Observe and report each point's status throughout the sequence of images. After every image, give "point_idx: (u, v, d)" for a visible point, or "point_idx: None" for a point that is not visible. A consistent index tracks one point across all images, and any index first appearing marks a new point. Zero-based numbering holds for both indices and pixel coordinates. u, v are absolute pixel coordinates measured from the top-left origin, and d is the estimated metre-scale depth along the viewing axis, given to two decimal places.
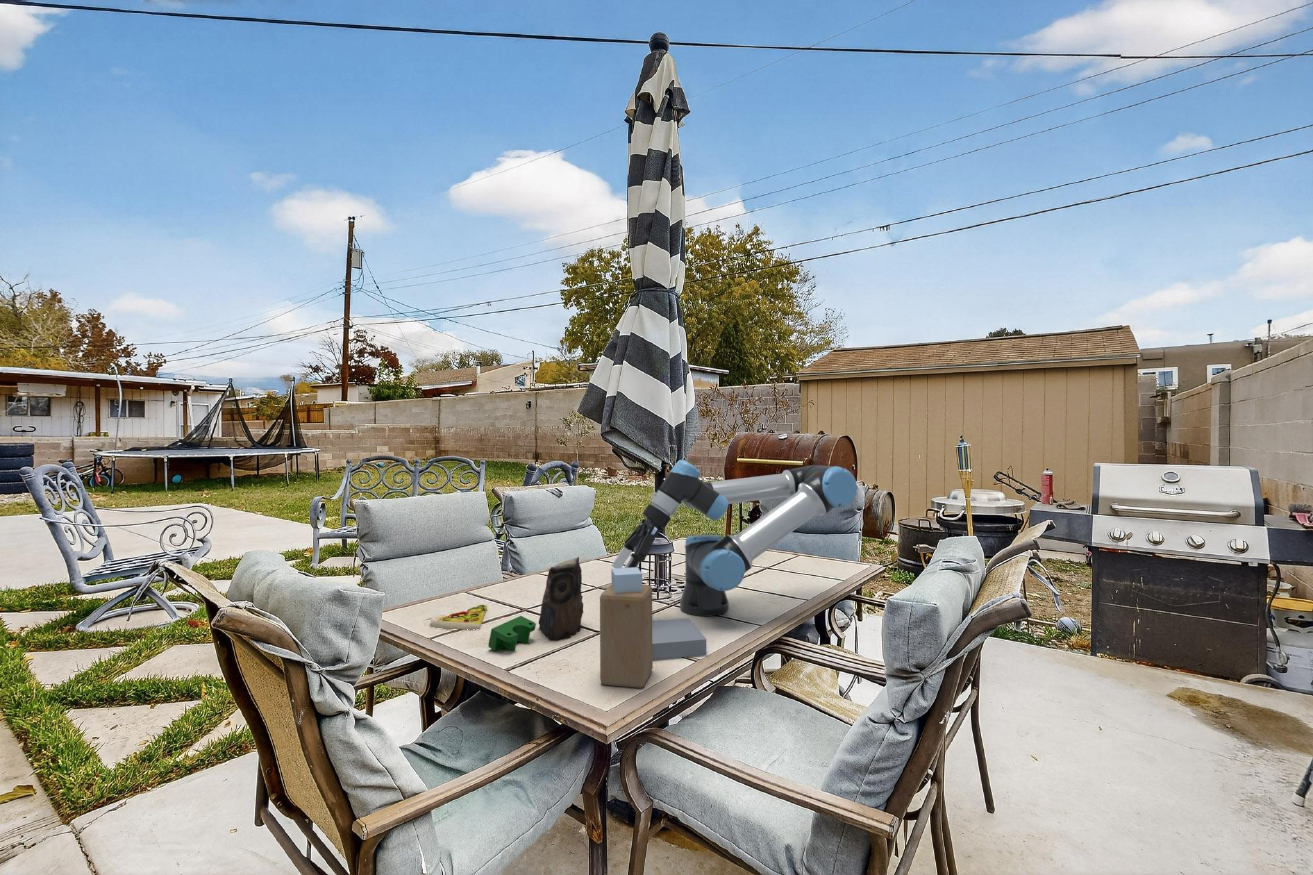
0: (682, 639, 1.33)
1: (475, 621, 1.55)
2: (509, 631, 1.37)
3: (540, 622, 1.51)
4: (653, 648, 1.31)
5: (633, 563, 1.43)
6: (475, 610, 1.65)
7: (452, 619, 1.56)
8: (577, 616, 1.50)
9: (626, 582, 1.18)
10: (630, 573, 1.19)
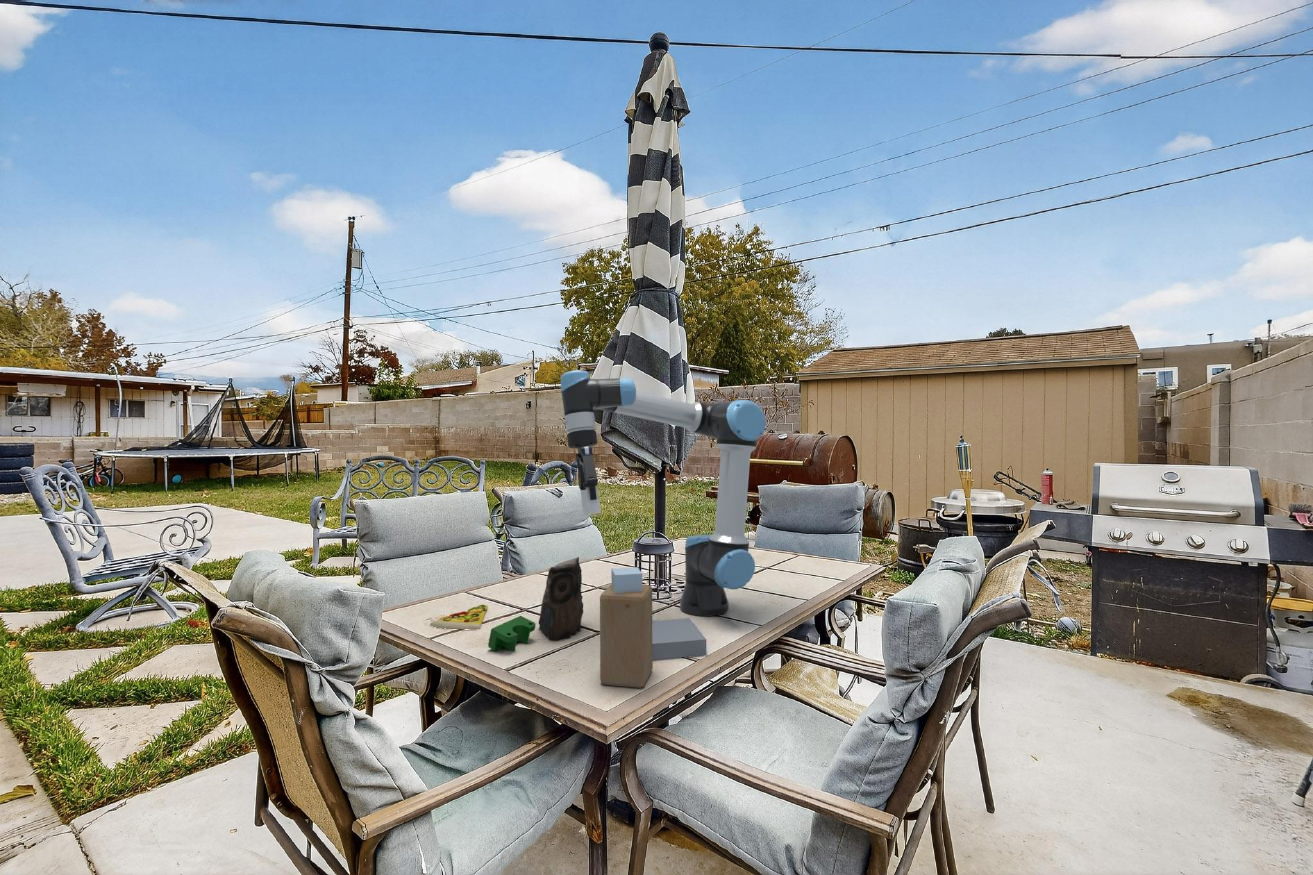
0: (682, 639, 1.33)
1: (475, 621, 1.55)
2: (509, 631, 1.37)
3: (540, 622, 1.51)
4: (653, 648, 1.31)
5: (591, 491, 1.28)
6: (475, 610, 1.65)
7: (452, 619, 1.56)
8: (577, 616, 1.50)
9: (626, 582, 1.18)
10: (630, 573, 1.19)
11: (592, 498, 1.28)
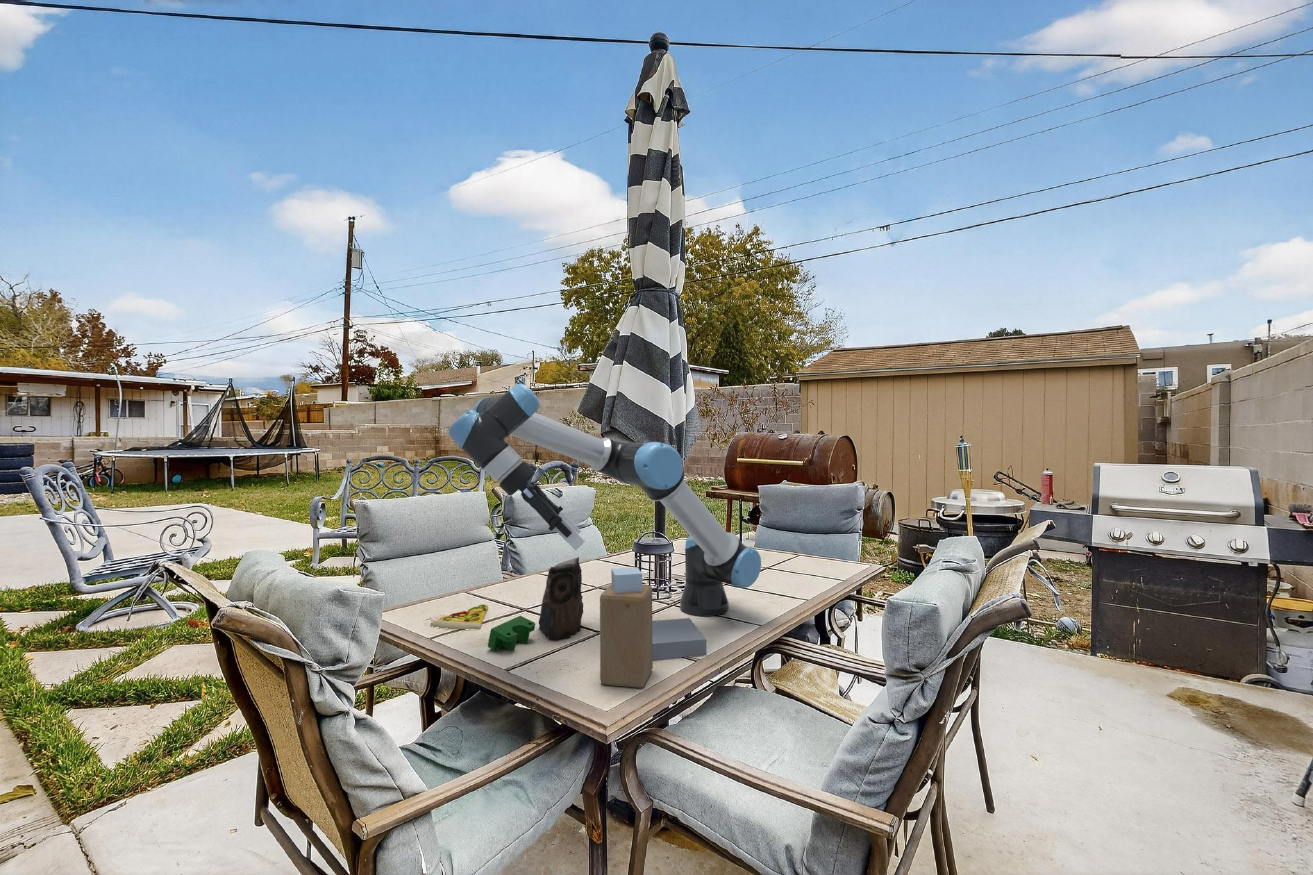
0: (682, 639, 1.33)
1: (476, 621, 1.55)
2: (509, 631, 1.37)
3: (540, 622, 1.51)
4: (653, 648, 1.31)
5: (561, 529, 1.11)
6: (476, 610, 1.65)
7: (453, 619, 1.56)
8: (577, 616, 1.50)
9: (626, 582, 1.18)
10: (630, 573, 1.19)
11: (567, 535, 1.11)
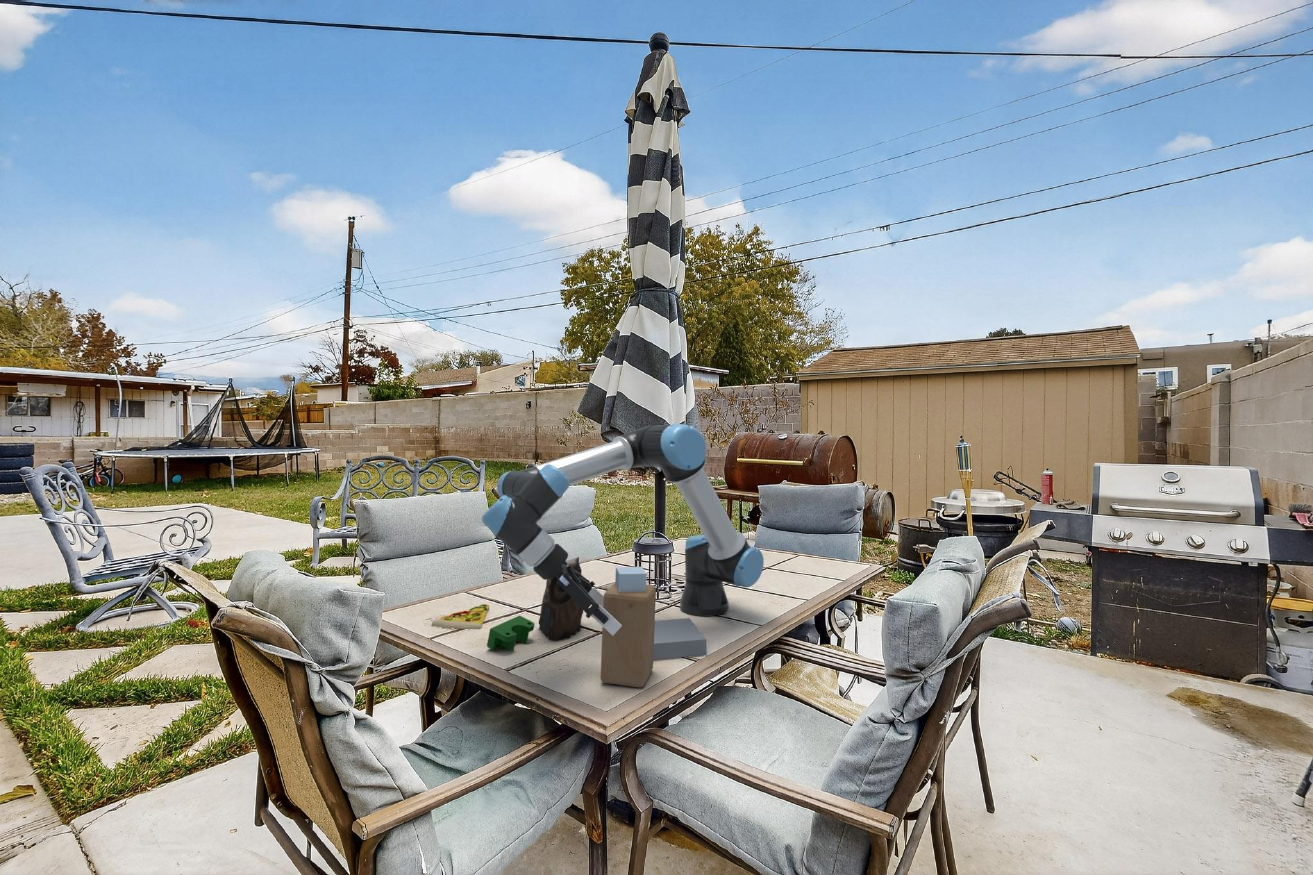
0: (682, 639, 1.33)
1: (476, 621, 1.55)
2: (508, 630, 1.37)
3: (540, 622, 1.51)
4: None
5: (598, 616, 1.11)
6: (477, 609, 1.66)
7: (454, 618, 1.56)
8: (577, 616, 1.50)
9: (630, 582, 1.18)
10: (635, 573, 1.19)
11: (604, 622, 1.11)
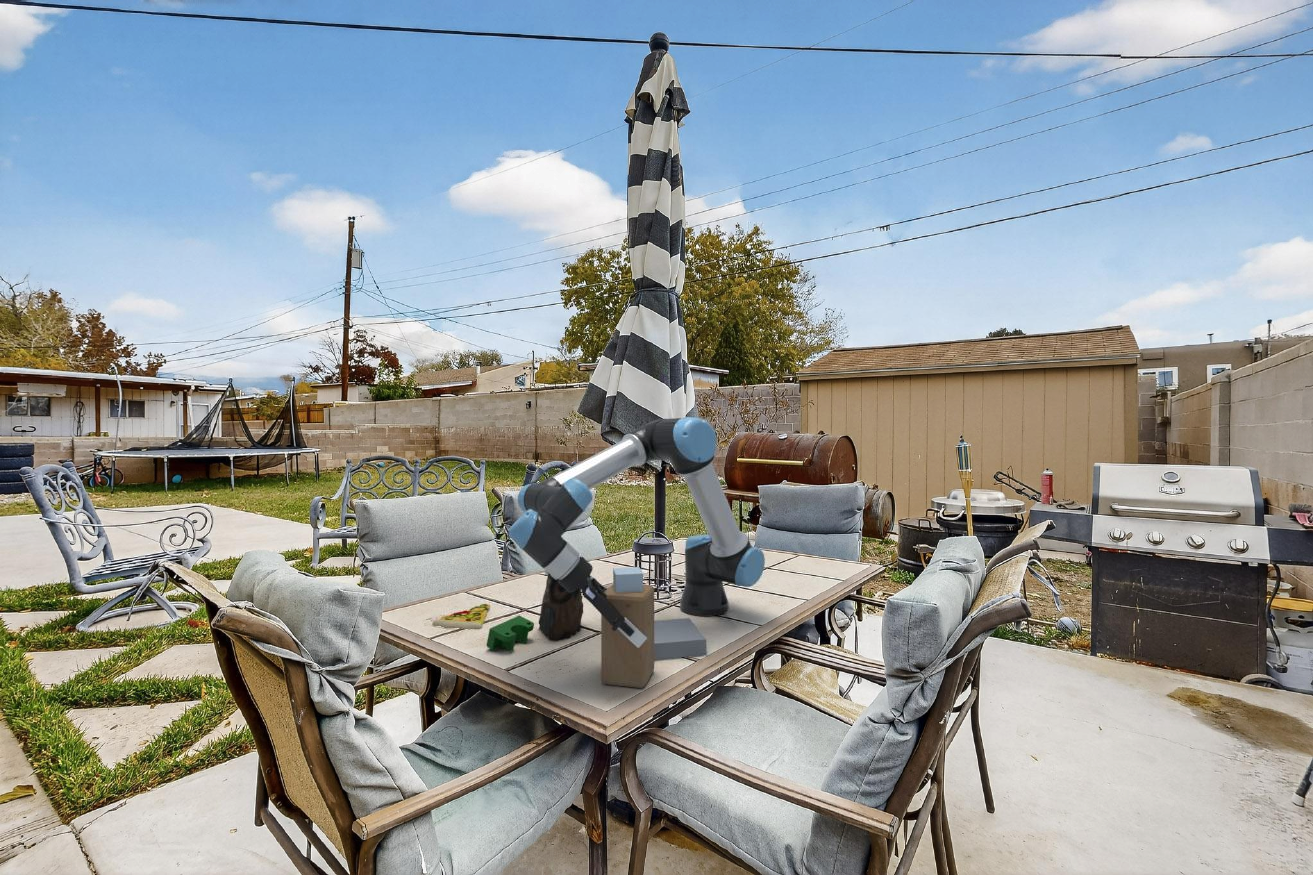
0: (682, 639, 1.33)
1: (477, 620, 1.56)
2: (508, 630, 1.37)
3: (540, 622, 1.51)
4: None
5: (624, 629, 1.13)
6: (478, 609, 1.66)
7: (454, 618, 1.56)
8: (577, 616, 1.50)
9: (627, 582, 1.18)
10: (631, 573, 1.19)
11: (630, 634, 1.13)
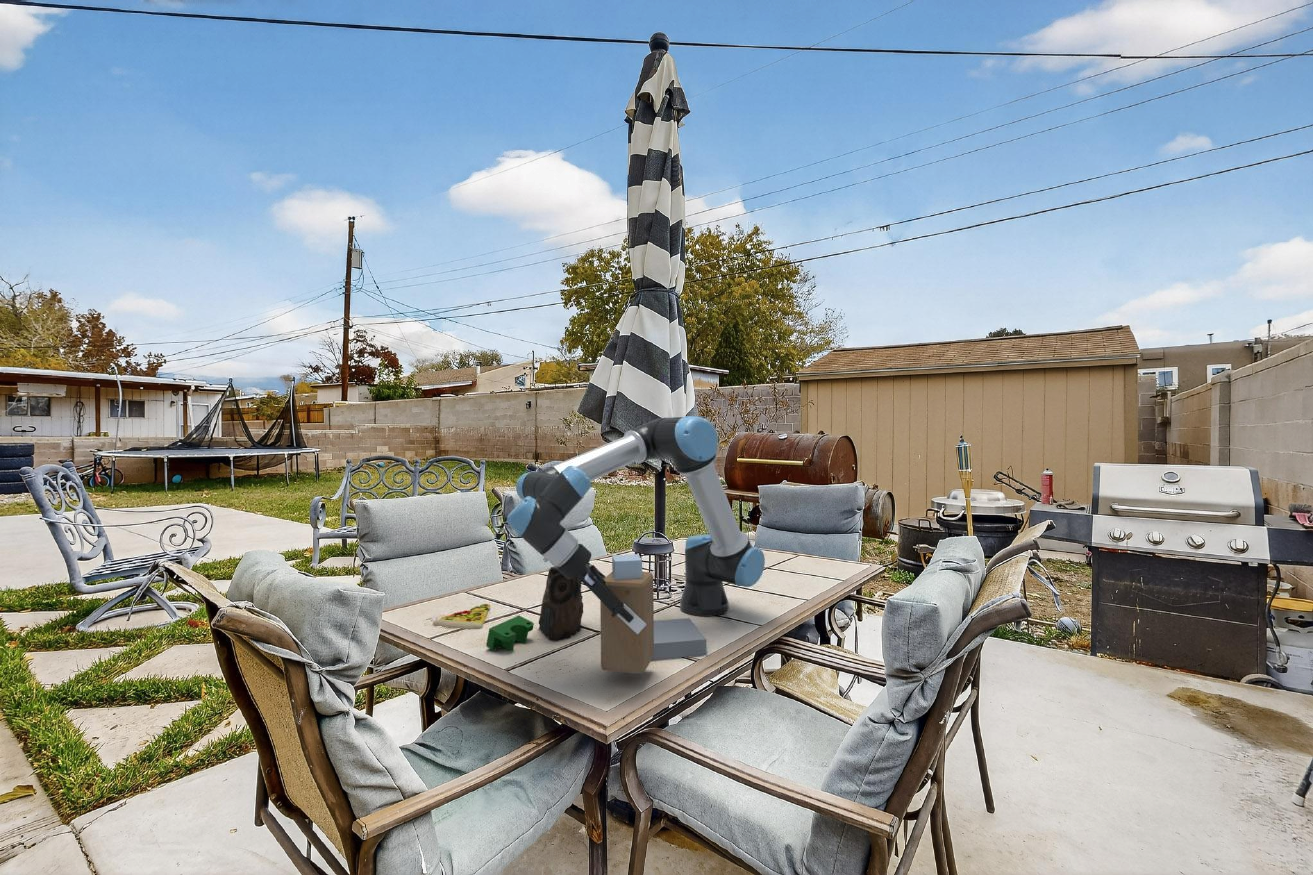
0: (682, 639, 1.33)
1: (477, 620, 1.56)
2: (507, 630, 1.37)
3: (540, 622, 1.51)
4: None
5: (624, 615, 1.13)
6: (478, 609, 1.66)
7: (455, 618, 1.57)
8: (577, 616, 1.50)
9: (626, 569, 1.18)
10: (630, 559, 1.19)
11: (629, 620, 1.13)
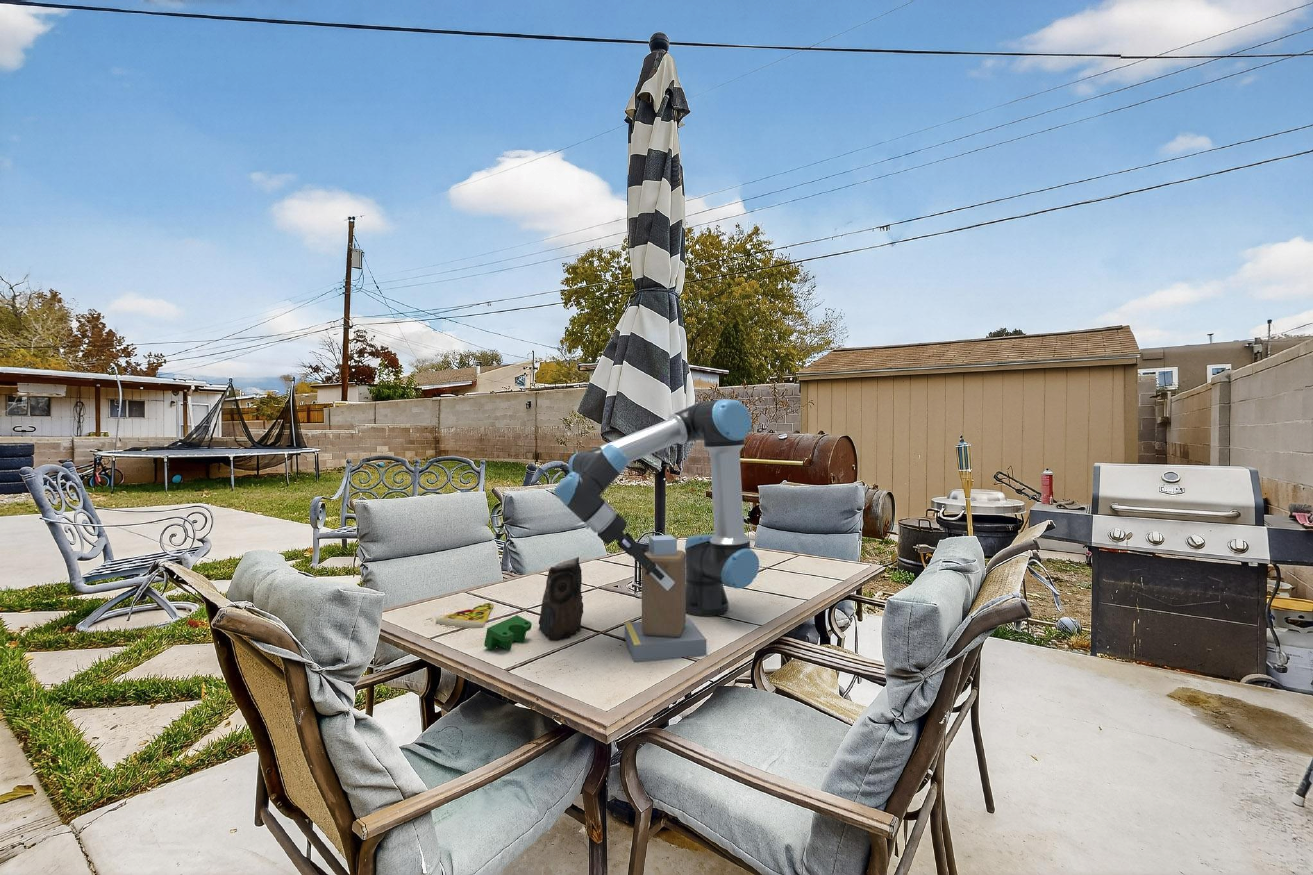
0: (682, 639, 1.33)
1: (480, 619, 1.57)
2: (505, 630, 1.38)
3: (540, 622, 1.51)
4: (653, 648, 1.31)
5: (656, 574, 1.30)
6: (481, 608, 1.67)
7: (457, 617, 1.58)
8: (577, 616, 1.50)
9: (663, 547, 1.36)
10: (666, 539, 1.37)
11: (661, 578, 1.31)
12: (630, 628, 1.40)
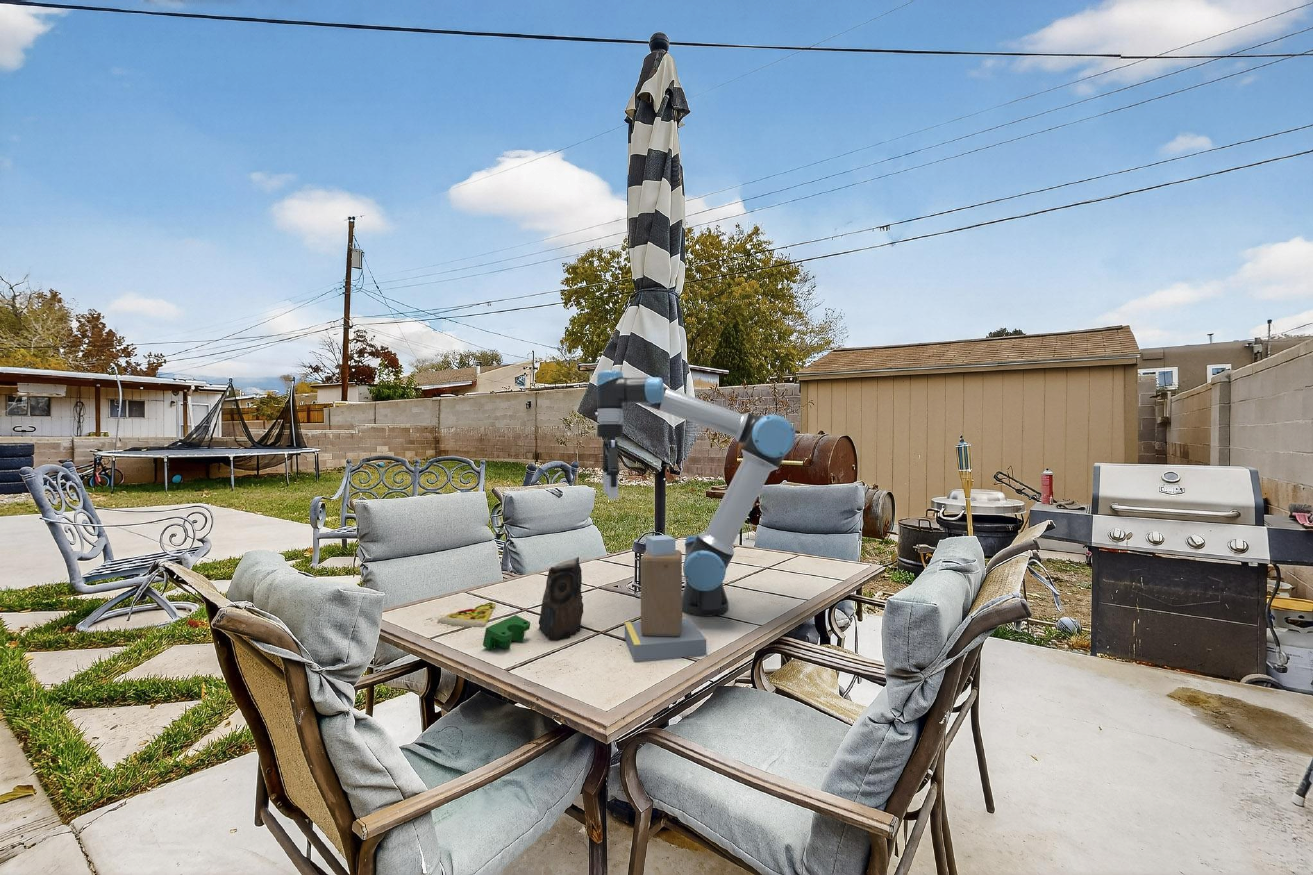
0: (682, 639, 1.33)
1: (481, 618, 1.57)
2: (504, 630, 1.38)
3: (540, 622, 1.51)
4: (653, 648, 1.31)
5: (612, 479, 1.50)
6: (483, 608, 1.68)
7: (459, 616, 1.58)
8: (577, 616, 1.50)
9: (662, 547, 1.37)
10: (665, 539, 1.38)
11: (612, 485, 1.50)
12: (630, 628, 1.40)
